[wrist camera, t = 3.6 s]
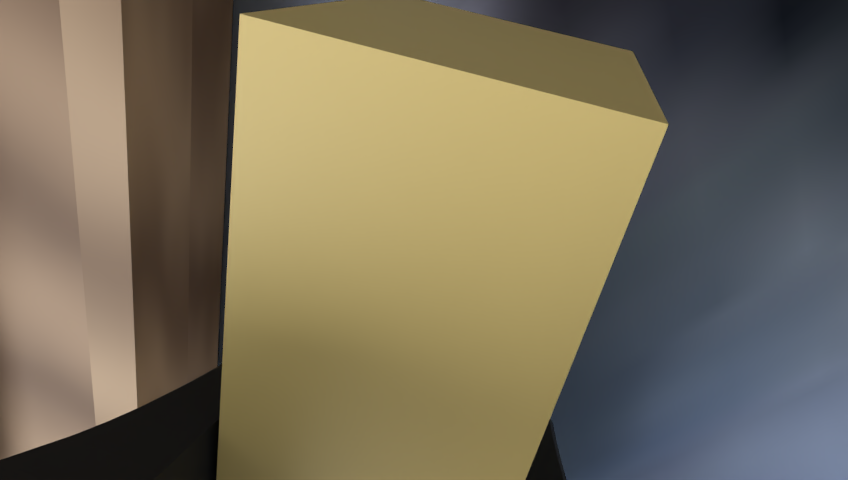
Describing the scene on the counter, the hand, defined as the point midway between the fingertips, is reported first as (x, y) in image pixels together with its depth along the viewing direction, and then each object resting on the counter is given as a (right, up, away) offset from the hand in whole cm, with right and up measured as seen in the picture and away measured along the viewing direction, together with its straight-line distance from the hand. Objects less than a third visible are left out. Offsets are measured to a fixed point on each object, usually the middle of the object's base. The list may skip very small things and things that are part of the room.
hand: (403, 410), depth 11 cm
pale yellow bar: (0, +1, +2) cm, 2 cm away
